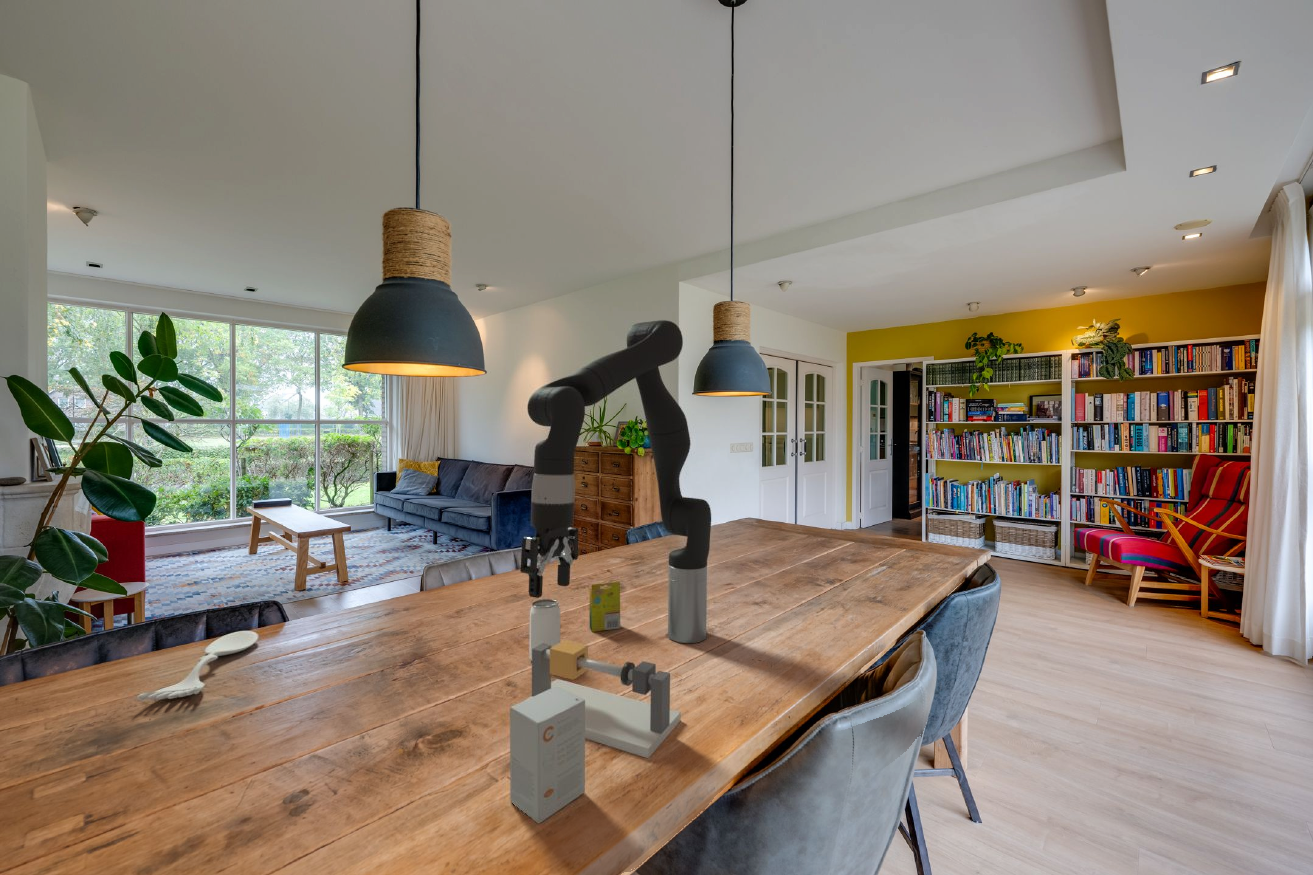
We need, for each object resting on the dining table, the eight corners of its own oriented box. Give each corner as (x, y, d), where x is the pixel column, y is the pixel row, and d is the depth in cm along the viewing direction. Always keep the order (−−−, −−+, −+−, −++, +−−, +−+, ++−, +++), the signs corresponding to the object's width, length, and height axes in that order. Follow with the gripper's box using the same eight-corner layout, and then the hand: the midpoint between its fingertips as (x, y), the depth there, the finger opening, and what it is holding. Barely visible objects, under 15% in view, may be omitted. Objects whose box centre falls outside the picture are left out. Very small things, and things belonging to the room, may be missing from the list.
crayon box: (617, 624, 138) (618, 578, 138) (620, 628, 135) (621, 582, 135) (588, 627, 136) (589, 581, 135) (591, 632, 133) (591, 584, 133)
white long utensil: (133, 715, 94) (133, 695, 94) (219, 643, 124) (218, 628, 124) (197, 707, 96) (197, 687, 96) (265, 639, 127) (265, 624, 127)
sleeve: (564, 663, 99) (564, 639, 99) (587, 669, 97) (587, 645, 97) (549, 673, 95) (549, 648, 95) (573, 679, 93) (573, 654, 93)
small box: (556, 773, 79) (556, 684, 78) (586, 793, 75) (586, 698, 74) (508, 802, 73) (508, 705, 72) (538, 825, 68) (538, 723, 68)
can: (553, 666, 114) (553, 609, 113) (524, 663, 115) (524, 606, 115) (564, 653, 120) (565, 599, 120) (537, 651, 121) (537, 597, 121)
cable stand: (557, 686, 105) (557, 630, 105) (680, 720, 93) (681, 657, 93) (514, 715, 94) (515, 653, 94) (648, 758, 83) (649, 687, 82)
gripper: (547, 504, 89) (544, 604, 89) (591, 497, 102) (588, 584, 102) (510, 501, 92) (506, 598, 92) (557, 494, 105) (555, 579, 105)
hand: (550, 590), depth 97 cm, fingers open, 8 cm apart
